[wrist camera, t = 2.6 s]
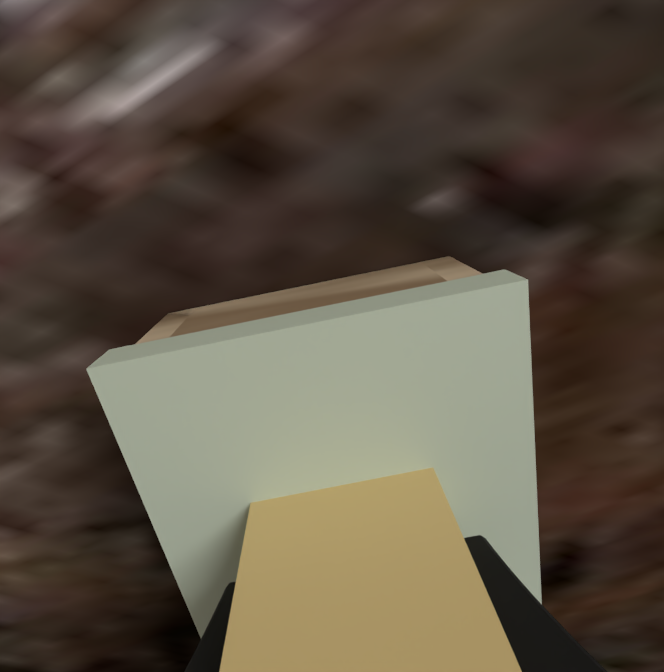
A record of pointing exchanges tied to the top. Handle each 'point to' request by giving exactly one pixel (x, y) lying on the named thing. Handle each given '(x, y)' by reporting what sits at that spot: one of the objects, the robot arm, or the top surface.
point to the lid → (342, 474)
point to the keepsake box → (309, 297)
